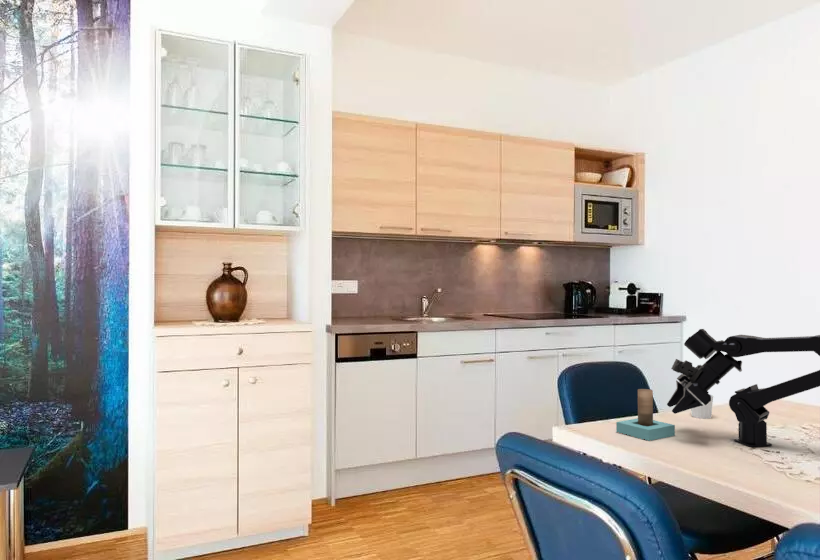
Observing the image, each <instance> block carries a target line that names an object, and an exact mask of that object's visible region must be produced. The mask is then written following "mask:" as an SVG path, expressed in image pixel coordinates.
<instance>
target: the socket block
mask: <svg viewBox="0 0 820 560" xmlns="http://www.w3.org/2000/svg"><path fill="white" fill-rule="evenodd" d="M615 424H616V433H617V432H619V433H618V434H620V433H623V434H622V435H624V434H627V435H626V436H628V435H631V436H630V437H632V436H634V437H633V438H636V437H637V438H636V439H639V438H641V439H640V440H643V439H645V440H644V441H647V440H648V441H647V442H650V440H651V441H655V439H656V440H661V439H665V438H671V437H675V436H676V429H675V428H676V425H675V424H672V423H667V422H664V421H658V420H656V419H655V420H654V419H653V426H642V425H638V417H637V418H631V419H626V420H620V421H616V422H615Z"/></svg>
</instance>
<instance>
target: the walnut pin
mask: <svg viewBox="0 0 820 560" xmlns="http://www.w3.org/2000/svg"><path fill="white" fill-rule="evenodd" d="M653 391H654V390H653V389H650V388H649V389H648V388H638V389H637V418H638V425H642V426H653V420H654V400H653V399H654V395H653V394H654V392H653Z"/></svg>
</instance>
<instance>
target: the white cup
mask: <svg viewBox="0 0 820 560" xmlns="http://www.w3.org/2000/svg"><path fill="white" fill-rule="evenodd" d="M710 395H711V401H710V402H709V403H708V404H707V405H705V404H704V403H703V402H701V404H702V405H703V406H699V407H695V408H692V409H690V411H691V417H692V418H697V419H711V418H712V413H713V405H714V404H713V402H714V401H713V400H714V396H713V395H712V394H710Z"/></svg>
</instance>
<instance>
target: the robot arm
mask: <svg viewBox="0 0 820 560" xmlns="http://www.w3.org/2000/svg"><path fill="white" fill-rule="evenodd" d="M683 345H684V346H685V348H687V349H688V350H689V351H691V352H692V353H693V354H694V355H695V357H697V358H699V360H701V359H703V358H704V359H705V360H707V361H705V362H704V363H703V364H697V366H696V367H695V366H693V362H691V361H688V360H684V361H682V360H680V359H677V358H675V360H674V362H673V365H672V367H671V370H672V371H673V372H676V373H677V374H678V373H679V374H680V375H678V377H677V378H676V379H677V380H676V381H675V382H676V388H675V390H674V392H673V394H672V396H671V397H670V399H669V400H668V401H667V402H666V403H667V404H666V405H667V406H668V407H669V408H672V407H673V408H672V410H671V412H672V413H673V414H674V415H675V414H679V413H682V412H685V411H688V410H691V409H692V408H695V407H699V406H703V405H702V404H701V402H703V403H704V404H705V405H707V404H708V403H709V402H710V401H711V395H712V394H709V390H710V389H711V388H712V387H714V386H715V385H719V384H720V383H721V381H720V380H721V379H723V378H724V377H725V376H726V375H727V374H729V372H730V371H731V370H732V369H734V368H735V369H736V370H737V371H738V372H739V373H741V372H742V371H743V369H742V365H743V361H742V360H741V359H740V360H736V358H741V357H747V356H750V355H751V356H752V355H756V354H761V353H789V352H790V353H792V352H793V353H794V352H798V353H799V352H814V353H815V354H817V355H818V356H819V357H820V334H818V335H810V336H809V335H808V336H806V335H805V336H784V337H782V336H781V337H761V336H754V335H748V334H738V335H737V334H736V335H731V336H728V337H727V338H726V339H725V340H721V339H720V340H718V341H717V339H715V338H714V337H712V336H711V335H710V334H709V333H708V332H707V331H706V330H705V328H699V329H698V330H697V331H696V332H695V333H693V334H692V335H691V336H689V337H688V338H687V339H686V340H685V342H684V343H683ZM724 353H725V354H724ZM819 387H820V369H819V370H816V371H813V372H810V373H807V374H804V375H800V376H798V377H795V378H792V379H788V380H787V381H783V382H781V383H777V384H774V385H771V386H769V387H768V386H767V387H763V388H759V386H758V383H756V384H753V385H750V386H748V387H746V388H745V387H744V388H741V389H738V390H736V391H734V393H735V394H733V395H731V396H730V398H729V400H728V407H729V408H730V410H731V411H732V412H733V413H734V415H735V417H736V420H737V422H738V438H734V439H733V441H734V442H736V443H739V444H742V445H745V446H748V447H752V448H754V447H755V448H757V447H771V446H773V443H771V442H768V438H767V437H768V435H767V434H768V433H767V429H768V424H767V423H768V422H766V420H768V418H769V415H770V411H769V410H768V409H767V408H766V407H765V406H766V405H768V404H770V403H772V402H775V401H777V400H782V399H784V398H787V397H790V396H795V395H797V394H800V393H802V392H803V393H804V392H806V391H807V392H808V391H810V390H812V389H815V388H819Z"/></svg>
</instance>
